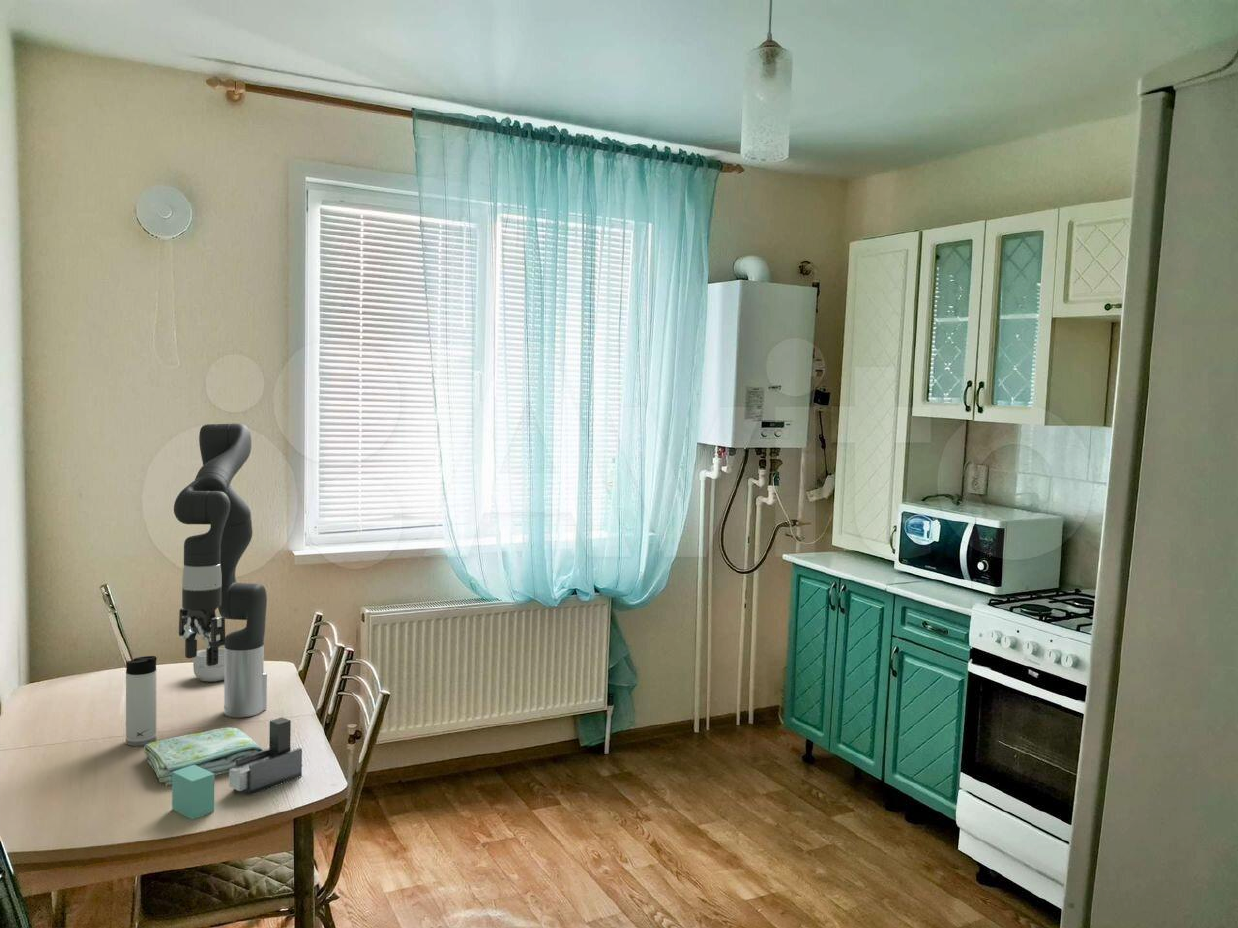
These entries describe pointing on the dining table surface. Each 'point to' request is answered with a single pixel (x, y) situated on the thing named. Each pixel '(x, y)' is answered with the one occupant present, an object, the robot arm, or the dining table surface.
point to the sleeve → (271, 769)
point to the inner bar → (277, 746)
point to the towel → (199, 752)
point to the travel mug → (141, 701)
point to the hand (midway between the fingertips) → (201, 661)
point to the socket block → (193, 791)
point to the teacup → (207, 671)
